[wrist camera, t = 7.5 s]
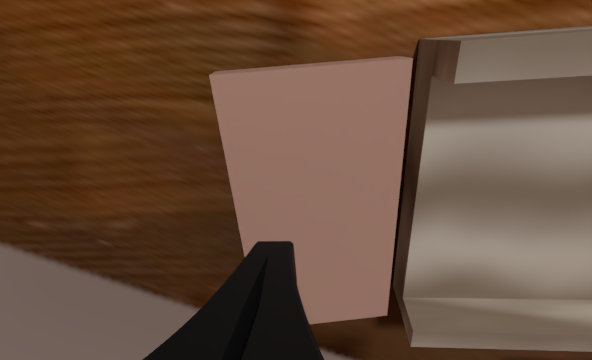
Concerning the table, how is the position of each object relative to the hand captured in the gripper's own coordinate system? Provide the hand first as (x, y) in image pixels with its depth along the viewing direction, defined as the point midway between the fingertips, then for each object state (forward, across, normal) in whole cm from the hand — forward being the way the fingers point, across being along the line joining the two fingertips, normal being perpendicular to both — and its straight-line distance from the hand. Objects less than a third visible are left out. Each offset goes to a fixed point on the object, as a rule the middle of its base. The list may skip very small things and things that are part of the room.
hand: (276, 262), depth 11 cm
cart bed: (+6, -12, 0) cm, 13 cm away
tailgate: (+3, -5, 0) cm, 6 cm away
